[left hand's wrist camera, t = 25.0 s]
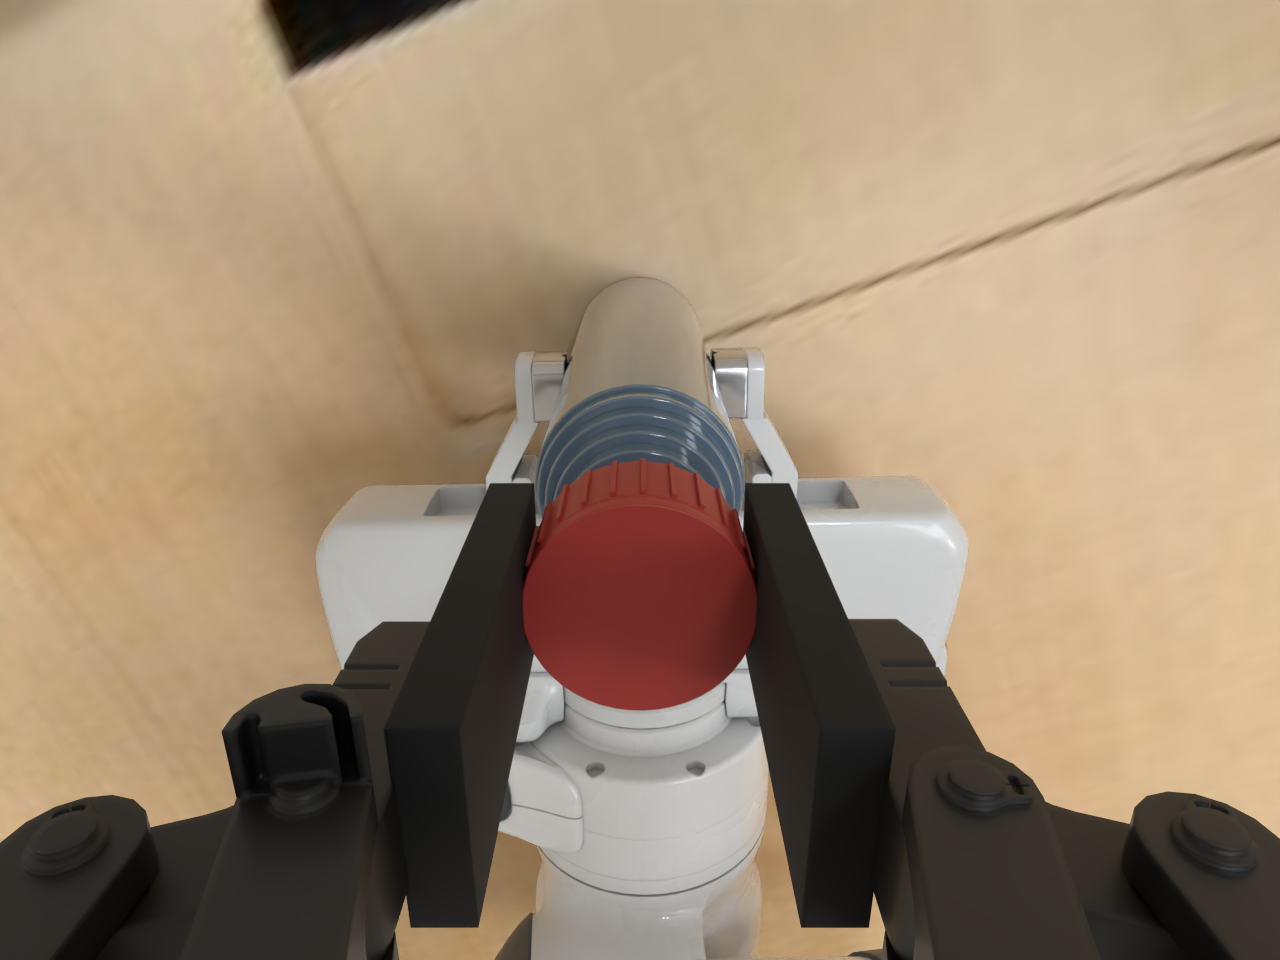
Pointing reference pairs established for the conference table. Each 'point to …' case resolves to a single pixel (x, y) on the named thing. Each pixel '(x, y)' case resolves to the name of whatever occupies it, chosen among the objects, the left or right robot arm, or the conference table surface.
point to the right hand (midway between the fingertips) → (637, 353)
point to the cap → (639, 587)
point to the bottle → (639, 395)
